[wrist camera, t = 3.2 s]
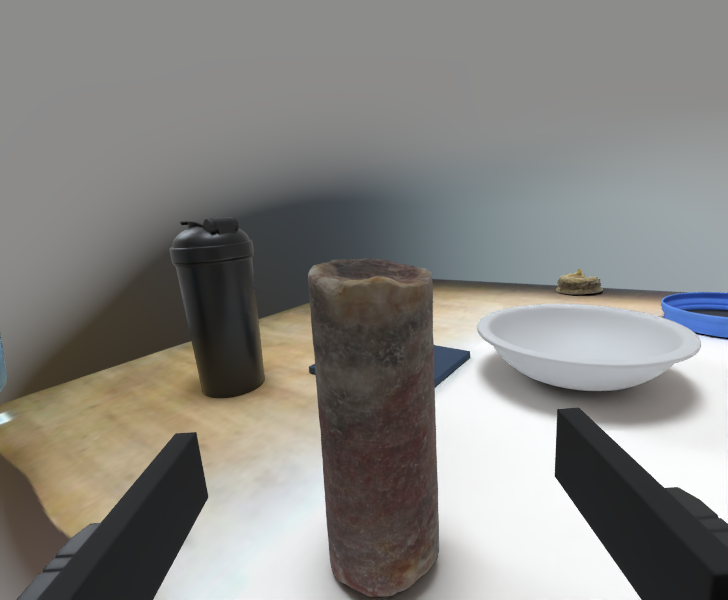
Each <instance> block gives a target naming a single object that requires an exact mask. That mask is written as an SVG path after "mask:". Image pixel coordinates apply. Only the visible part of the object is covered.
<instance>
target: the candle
mask: <svg viewBox="0 0 728 600" xmlns="http://www.w3.org/2000/svg"><path fill="white" fill-rule="evenodd" d="M308 291H309V298H310V308H311V323H312V334H313V345H314V352H315V373H316V383H317V395H318V409H319V420H320V428H321V444H322V457H323V474H324V488H325V502H326V517H327V528H328V540H329V551H330V561H331V567H332V570H333V573H334V575H335V577H336V579H337V580H339V582H341V583H344V584H346V585H348V586H349V587H350V588H353V589H355V590H357V591H359V592H360V593H362V594H365V595H367V596H369V597H378V596H382V597H388V596H393V595H394V594H395V593H397V592H402V591H404V590H406V589H408V588H409V587H410V586H412V585H413V584H414V583H415V582H416V581H417V580H418V579H419V578H420V577H422V576H423V575H424V574H425V573H426V572H427V571H428V570H430V568H431V566H432V565H433V564H434V563H435V561H436V559H437V557H438V553H439V520H438V482H437V456H436V424H435V391H434V344H433V287H432V274H431V273H430V272H429V270H427V269H424V268H416V267H414V266H410V265H405V264H398V263H394V262H390V261H387V260H376V259H361V260H356V259H352V260H332V261H330V262H328V263H321V264H320V265H315V266H313V267H312V268H311V270H310V271H309V274H308Z"/></svg>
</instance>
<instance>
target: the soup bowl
mask: <svg viewBox="0 0 728 600" xmlns="http://www.w3.org/2000/svg"><path fill="white" fill-rule="evenodd" d="M477 330H478V333H479V335H480V336H481V337H482V338H483V339H484V340H485V341H487V342H488V343H490V344H491V345H493V346H494V348H495V349H496V351H497V352H498V353H499V354H500V356H501V357H502V358H503V359H504V360H505V361H506V362H507V363H508V364H510V365H511V366H512V367H514V368H515V369H516V370H518V371H519V372H521V373H523V374H525V375H526V376H528V377H530V378H533V379H535V380H537V381H540V382H543V383H546V384H550V385H553V386H557V387H562V388H567V389H574V390H583V391H611V390H620V389H625V388H630V387H634V386H637V385H640V384H643V383H645V382H648V381H650V380H652V379H654V378H656V377H657V376H659V375H661V374H662V373H664V372H665V371H666V370H668V369H669V368H670V367H671V366H672V365H673V364H674V363H678V362H681V361H684V360H686V359H689V358H691V357H693V356H694V355H695V354H697V352H698V351H699V350H700V347H701V341H700V338H699V337H698V336H697V334H695V333H694V332H693V331H692V330H690V329H688V328H687V327H685V326H683V325H681V324H678V323H676V322H673V321H671V320H668V319H665V318H662V317H658V316H655V315H651V314H647V313H642V312H637V311H632V310H627V309H620V308H613V307H605V306H595V305H582V304H537V305H526V306H518V307H512V308H507V309H503V310H499V311H496V312H493V313H490V314H488V315H486V316H485V317H483V318H482V319H481V320H480V321H479V322H478V325H477Z"/></svg>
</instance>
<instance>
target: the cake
mask: <svg viewBox="0 0 728 600" xmlns="http://www.w3.org/2000/svg"><path fill="white" fill-rule="evenodd" d="M557 283H558V287H557V289H556V290H555V291H556V292H559V293H564V294H575V295H577V294H591V293H598V292H601V291H602V290H603V289H602V288H601V287H600V286H601V283H600V279H598V278H597V277H593V276H591V277H589V278H586V276H585V274H582V273H581V270H580V269H579V270H578V271H577V273H571V274H566V275H563V276H561V277H560V279H559V280H558V282H557Z"/></svg>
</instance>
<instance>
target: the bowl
mask: <svg viewBox="0 0 728 600" xmlns="http://www.w3.org/2000/svg"><path fill="white" fill-rule="evenodd" d="M661 306H662V310H663V312H664V313H665V314H664V318H665V319H668V320H671V321H673V322H676V323H678V324H681V325H683V326H685V327H687V328H688V329H690V330H692V331H693V332H696V333H701V334H706V335H712V336H718V337H726V338H728V293H720V292H694V293H693V292H691V293H679V294H673V295H669V296H666V297H664V298H663V299H662V302H661Z"/></svg>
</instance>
